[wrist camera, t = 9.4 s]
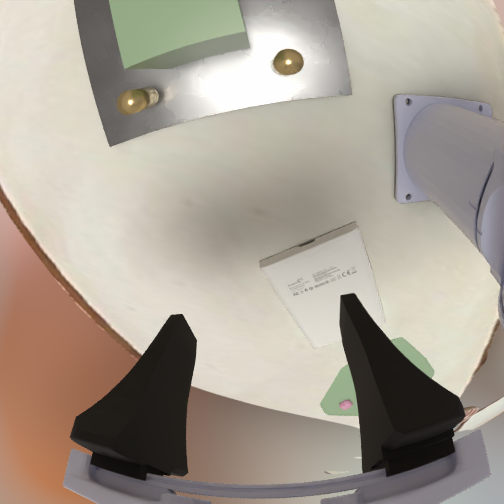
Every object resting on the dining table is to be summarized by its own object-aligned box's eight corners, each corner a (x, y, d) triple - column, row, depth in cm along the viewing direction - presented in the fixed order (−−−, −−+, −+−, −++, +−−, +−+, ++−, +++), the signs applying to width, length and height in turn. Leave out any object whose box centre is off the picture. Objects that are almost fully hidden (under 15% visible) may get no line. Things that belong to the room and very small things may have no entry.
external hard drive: (311, 337, 29) (258, 257, 23) (382, 312, 27) (353, 217, 20) (313, 350, 28) (258, 270, 21) (386, 323, 25) (359, 228, 19)
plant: (286, 371, 33) (289, 435, 26) (439, 313, 27) (468, 374, 20) (336, 420, 46) (340, 460, 38) (434, 385, 39) (446, 424, 32)
